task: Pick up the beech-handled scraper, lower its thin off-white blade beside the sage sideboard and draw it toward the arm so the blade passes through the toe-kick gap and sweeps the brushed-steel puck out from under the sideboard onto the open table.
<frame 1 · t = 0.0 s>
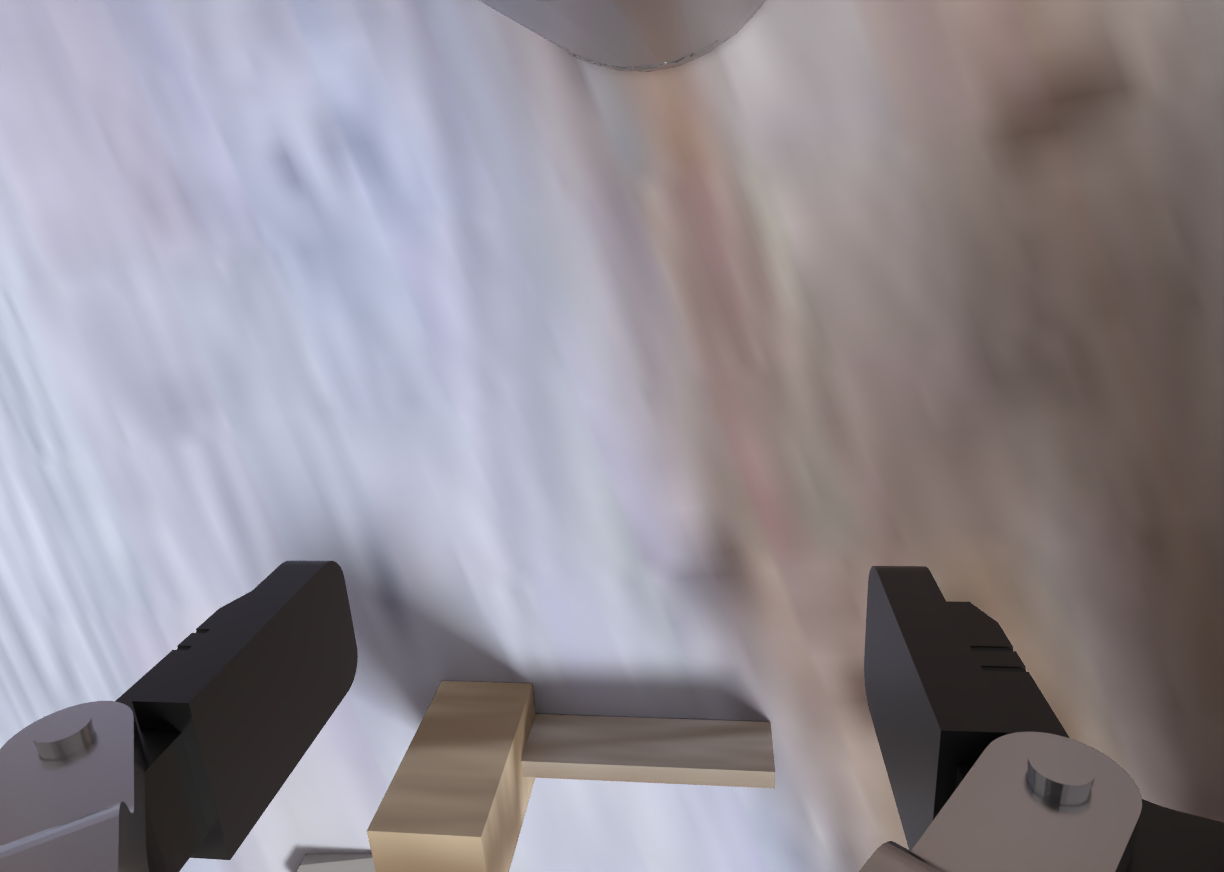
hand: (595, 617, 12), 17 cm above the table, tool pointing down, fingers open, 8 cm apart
scraper: (491, 719, 35), on the table
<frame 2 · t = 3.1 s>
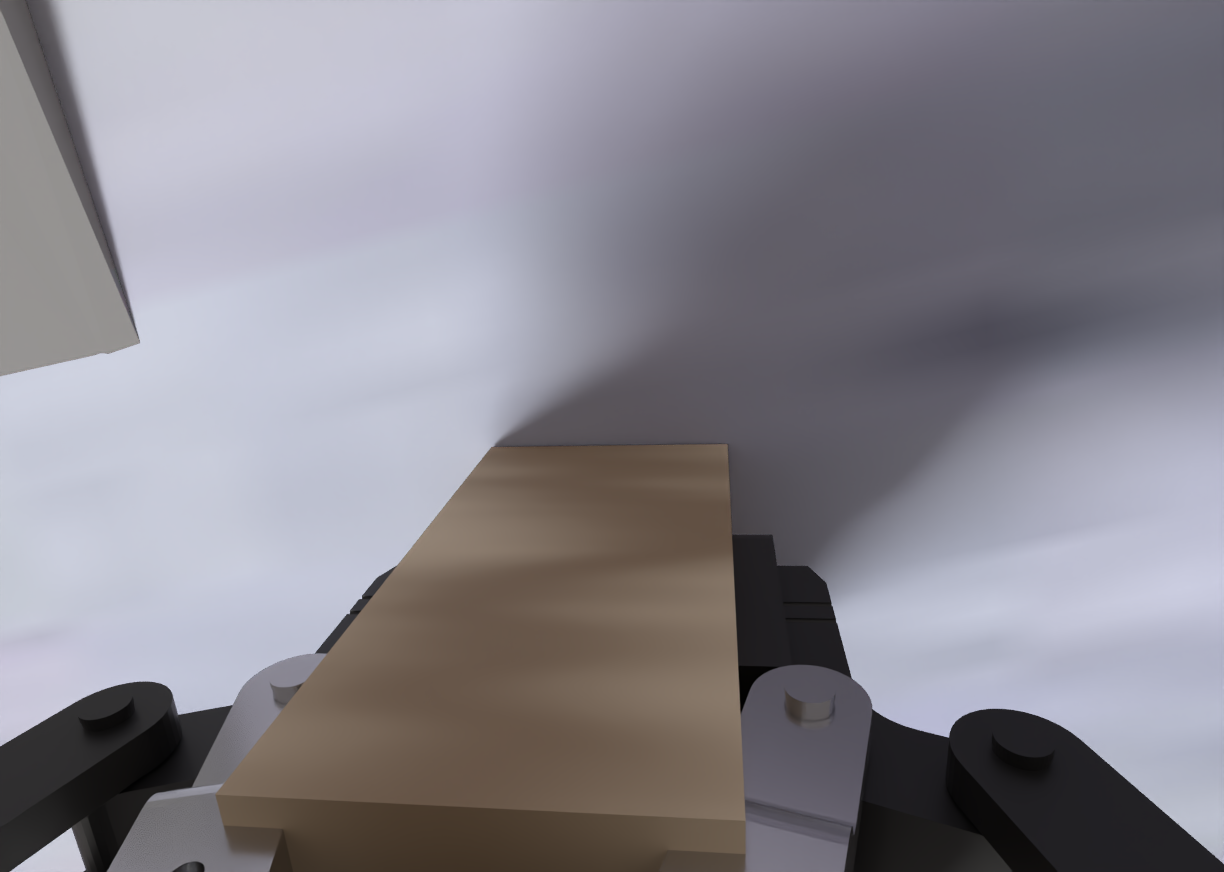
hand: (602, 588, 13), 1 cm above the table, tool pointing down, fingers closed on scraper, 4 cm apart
scraper: (613, 552, 14), on the table, touching gripper
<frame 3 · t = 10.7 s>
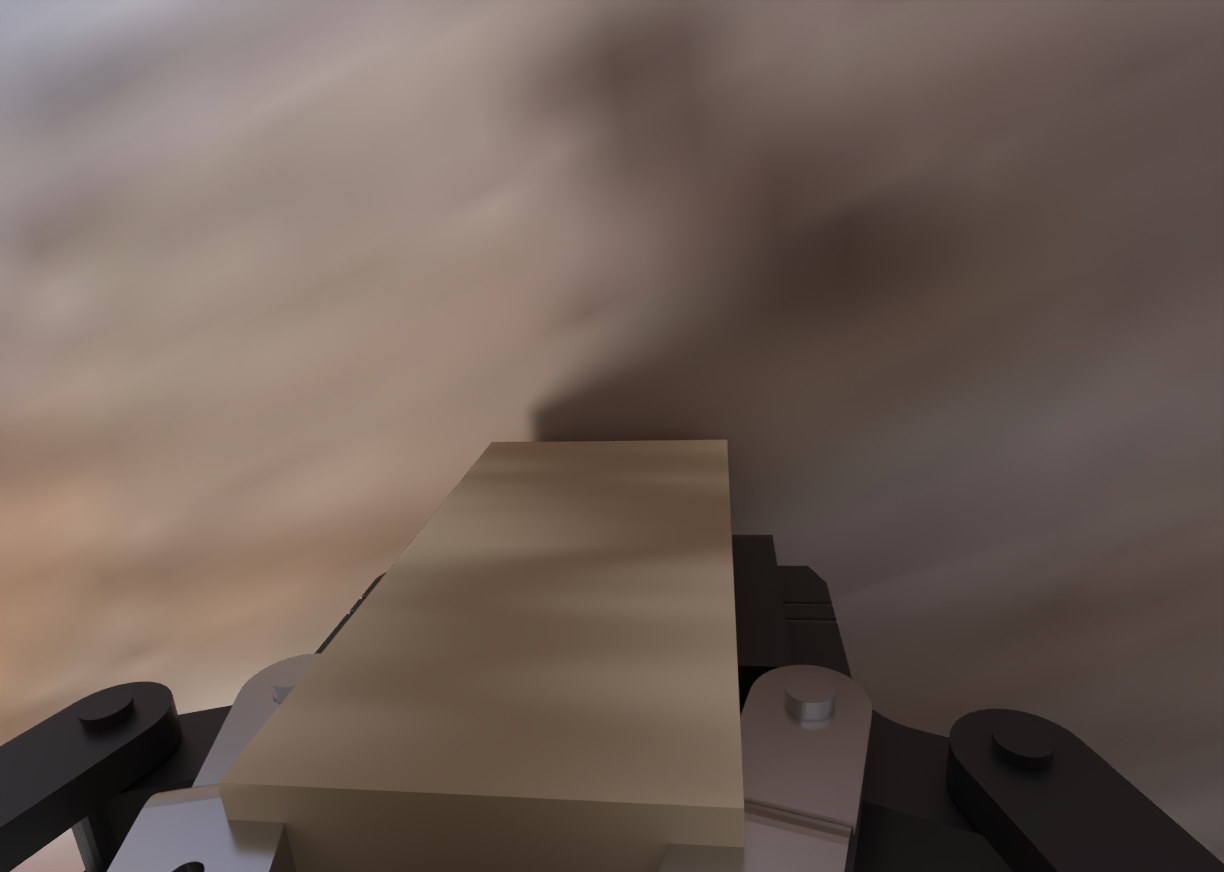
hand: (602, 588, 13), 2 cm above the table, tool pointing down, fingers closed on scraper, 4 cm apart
scraper: (613, 548, 14), point 1 cm above the table, touching gripper
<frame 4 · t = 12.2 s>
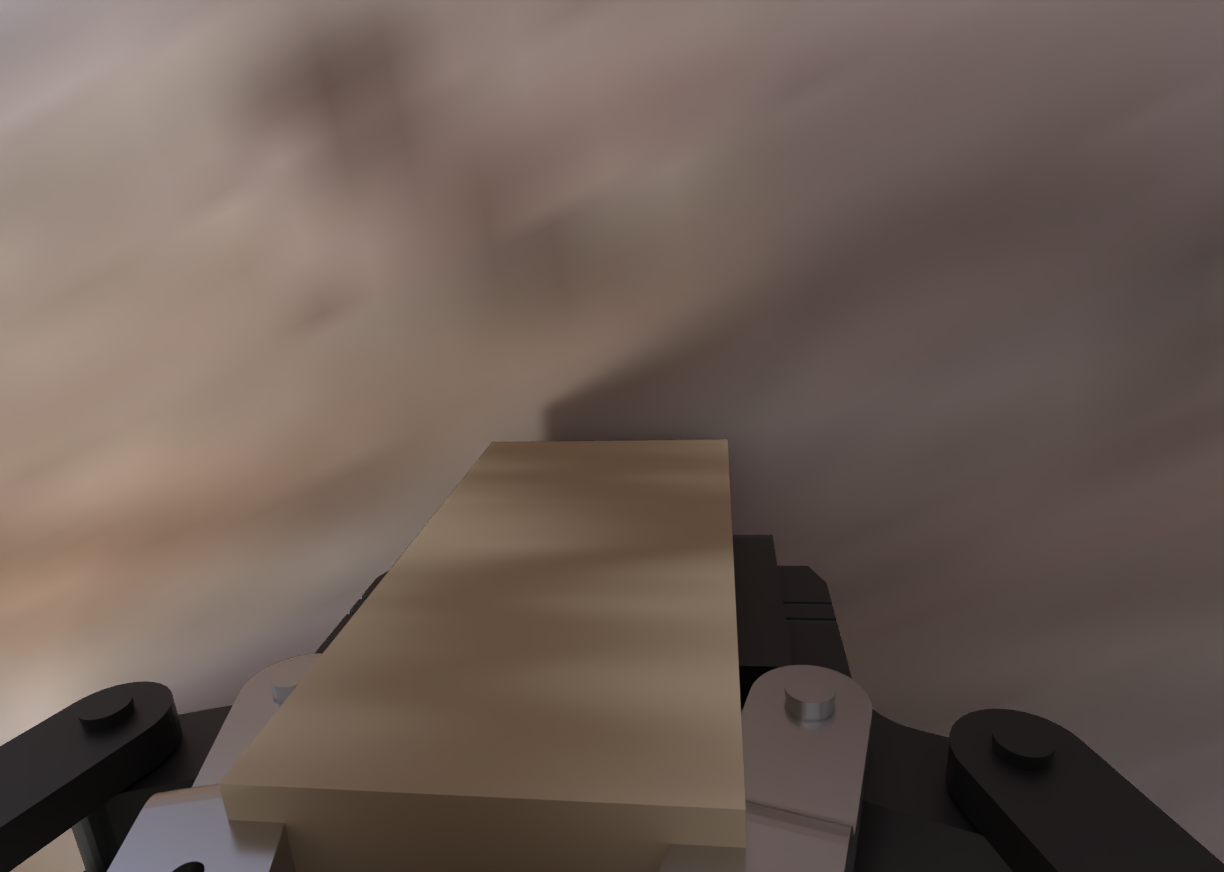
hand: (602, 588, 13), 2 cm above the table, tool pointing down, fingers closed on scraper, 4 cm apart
scraper: (614, 548, 14), point 1 cm above the table, touching gripper, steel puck
when the fingers open (2 cm above the table, at t = 13.4 s): scraper stays where it is, on the table.
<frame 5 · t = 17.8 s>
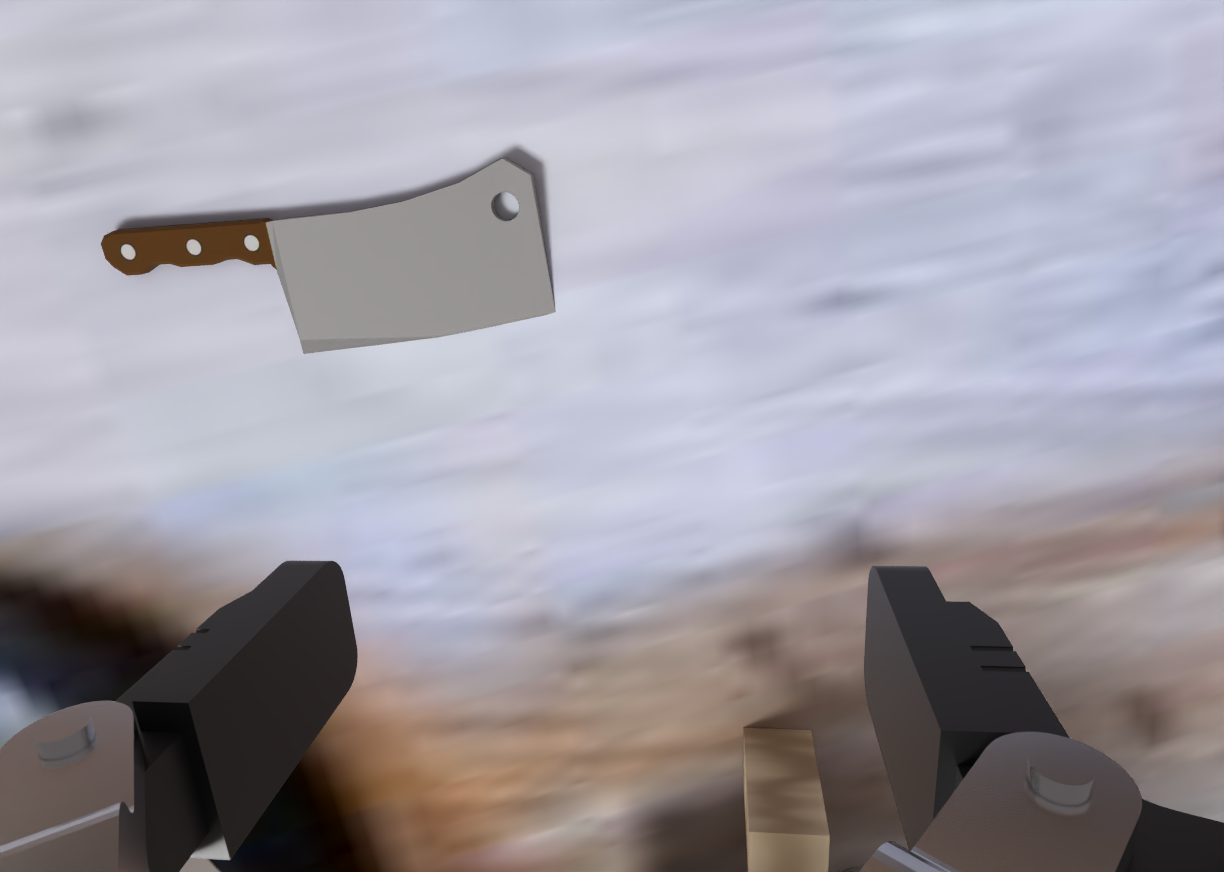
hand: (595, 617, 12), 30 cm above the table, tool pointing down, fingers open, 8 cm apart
scraper: (776, 756, 48), on the table
kitchen cleaver: (334, 271, 43), on the table
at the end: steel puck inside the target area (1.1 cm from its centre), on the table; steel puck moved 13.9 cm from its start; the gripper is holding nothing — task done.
